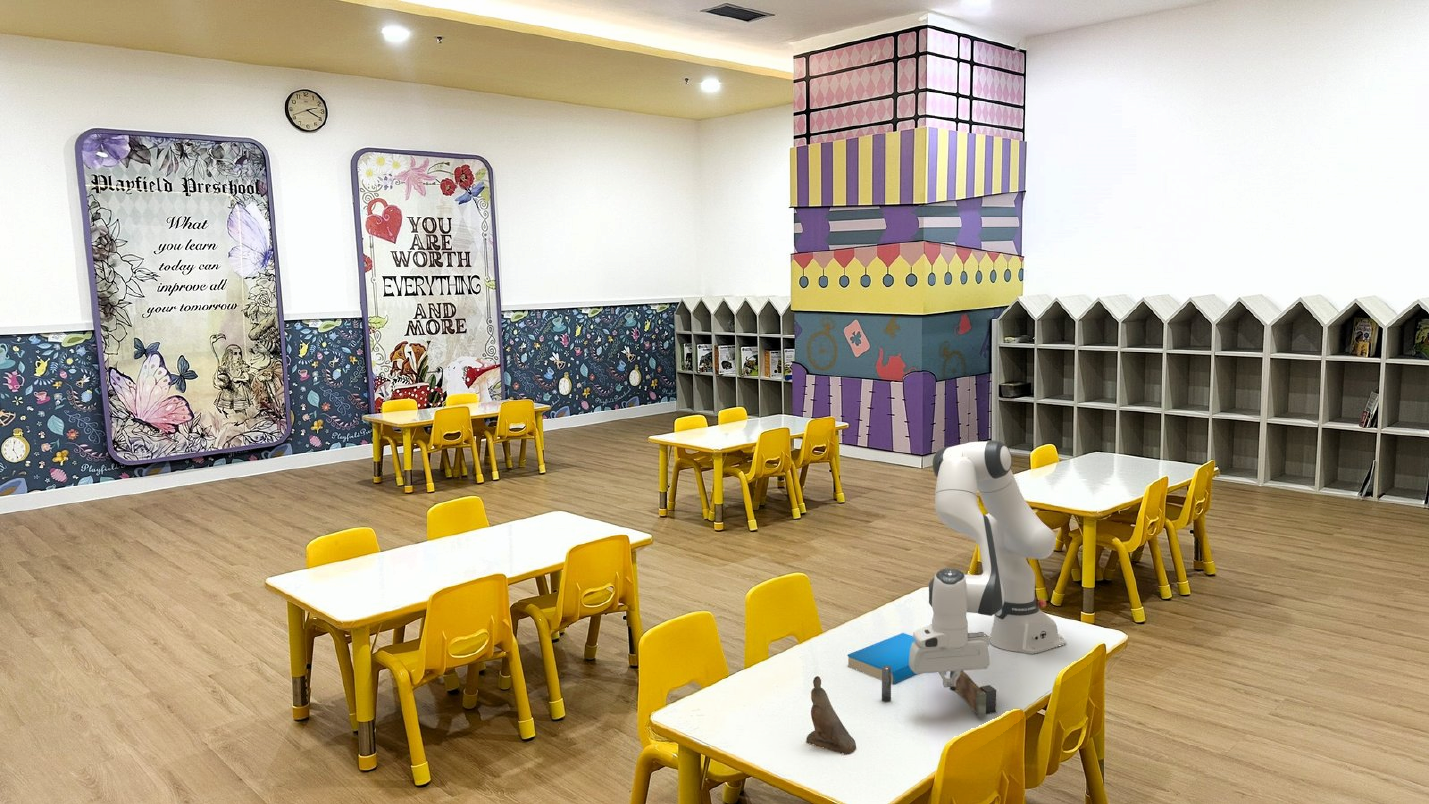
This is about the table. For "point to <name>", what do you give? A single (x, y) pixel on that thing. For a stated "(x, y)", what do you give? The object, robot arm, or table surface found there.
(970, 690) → the gate
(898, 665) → the book
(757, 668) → the table surface
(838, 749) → the worn brown figurine
